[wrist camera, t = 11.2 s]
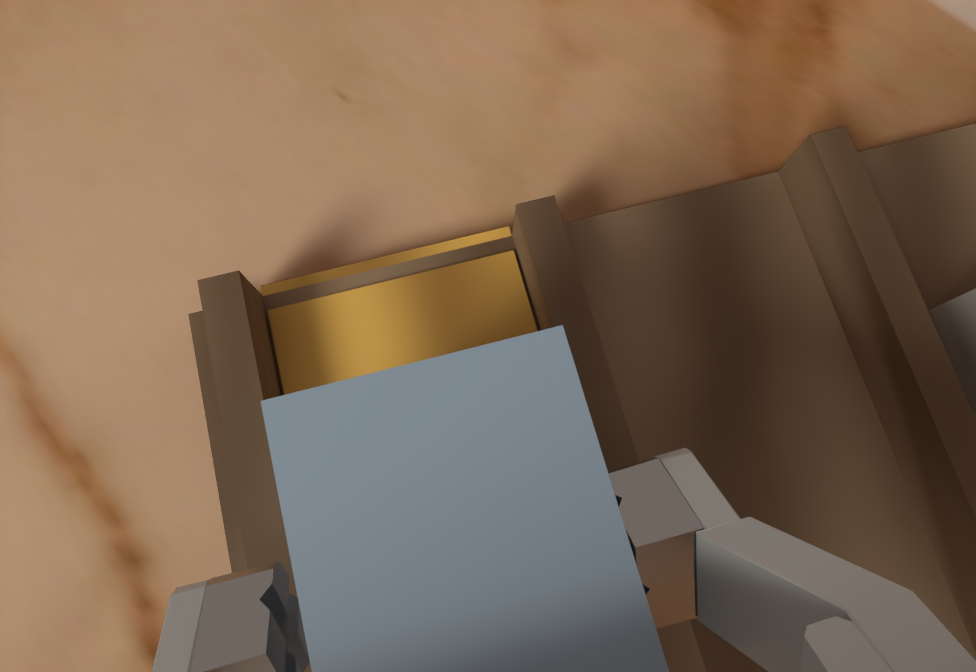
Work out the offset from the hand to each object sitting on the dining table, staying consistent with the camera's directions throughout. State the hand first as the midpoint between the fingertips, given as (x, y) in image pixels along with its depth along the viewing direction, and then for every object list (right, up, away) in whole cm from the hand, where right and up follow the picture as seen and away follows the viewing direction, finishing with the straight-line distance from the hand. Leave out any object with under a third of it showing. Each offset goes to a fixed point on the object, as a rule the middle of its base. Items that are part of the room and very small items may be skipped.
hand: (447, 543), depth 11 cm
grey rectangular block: (0, -2, +6) cm, 7 cm away
